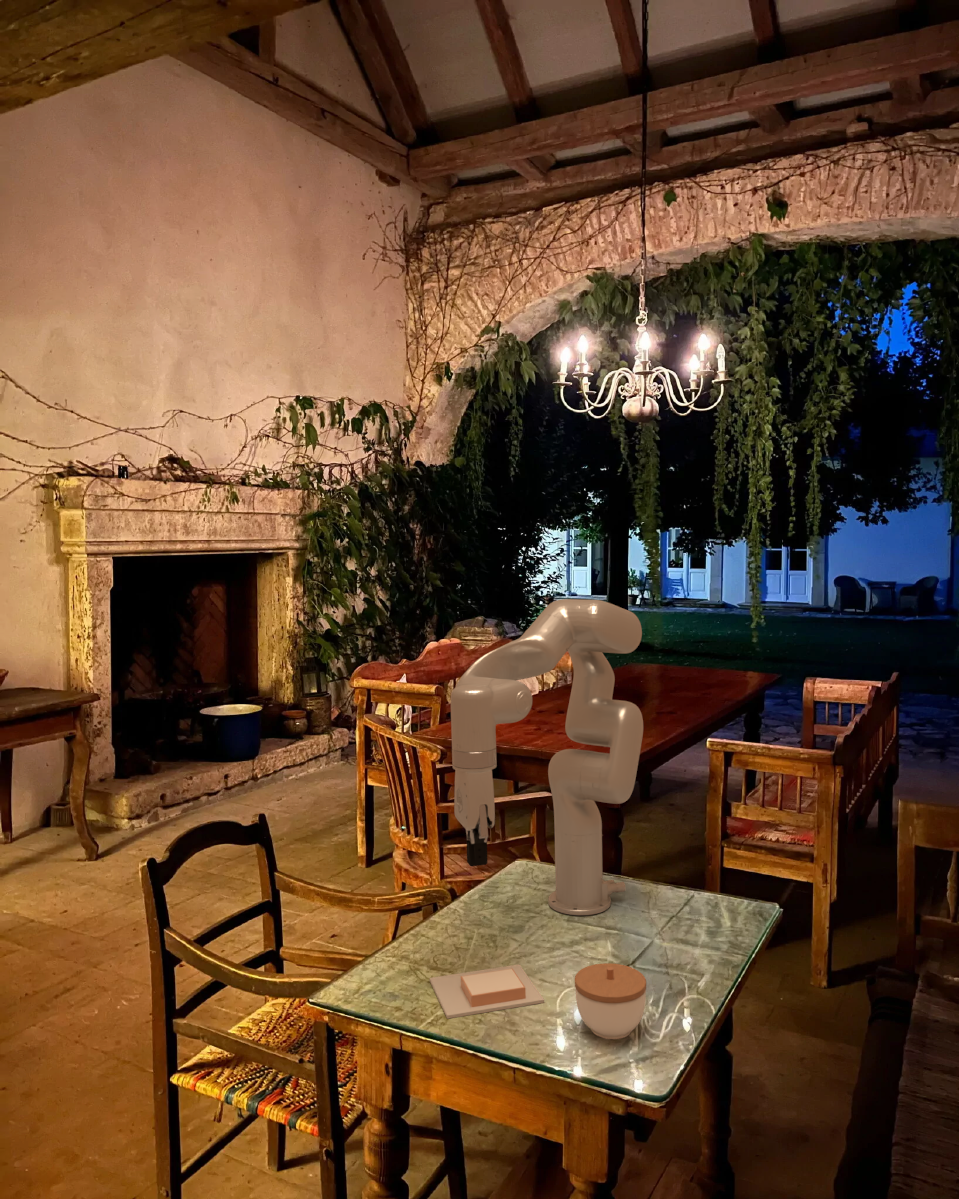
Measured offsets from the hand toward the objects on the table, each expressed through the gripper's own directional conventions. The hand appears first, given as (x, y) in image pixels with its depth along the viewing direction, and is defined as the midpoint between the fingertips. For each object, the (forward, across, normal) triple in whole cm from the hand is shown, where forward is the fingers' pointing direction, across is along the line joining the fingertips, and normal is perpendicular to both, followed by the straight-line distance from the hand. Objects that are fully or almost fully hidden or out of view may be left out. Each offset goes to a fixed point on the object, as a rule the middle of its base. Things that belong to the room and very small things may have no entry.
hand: (477, 863), depth 157 cm
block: (+18, +5, 0) cm, 18 cm away
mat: (+19, +7, -1) cm, 20 cm away
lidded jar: (+19, +24, +14) cm, 34 cm away
